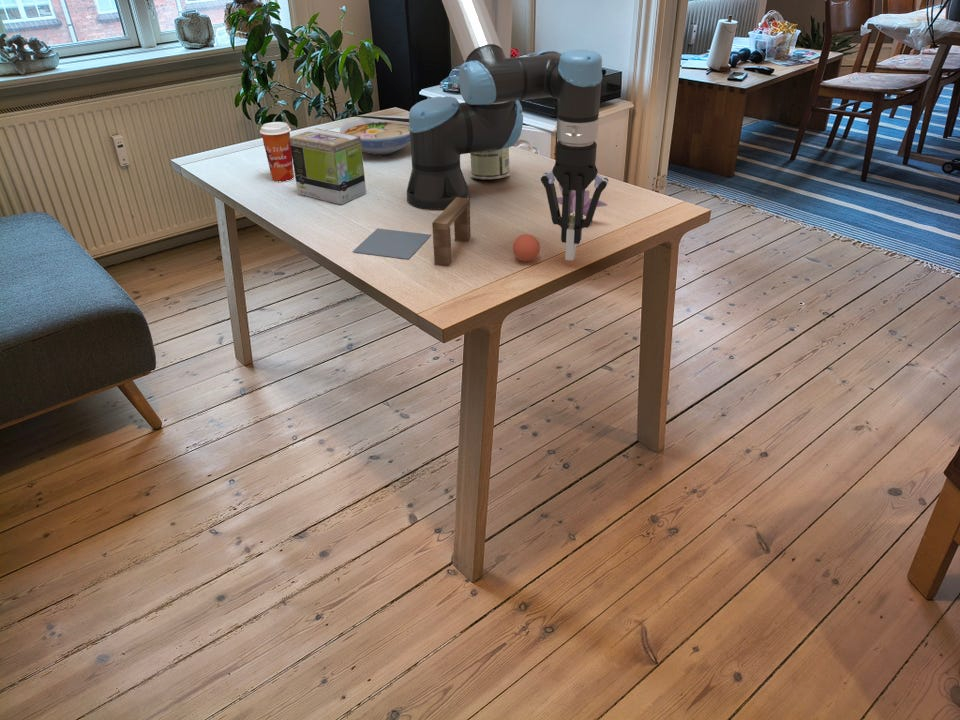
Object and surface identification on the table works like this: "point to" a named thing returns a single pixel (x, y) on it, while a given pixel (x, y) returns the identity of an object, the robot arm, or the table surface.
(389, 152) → the ramen bowl
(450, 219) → the bridge
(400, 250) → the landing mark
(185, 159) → the table surface
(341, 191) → the tea box
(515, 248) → the ball
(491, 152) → the coffee can
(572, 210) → the lily
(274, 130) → the paper cup
